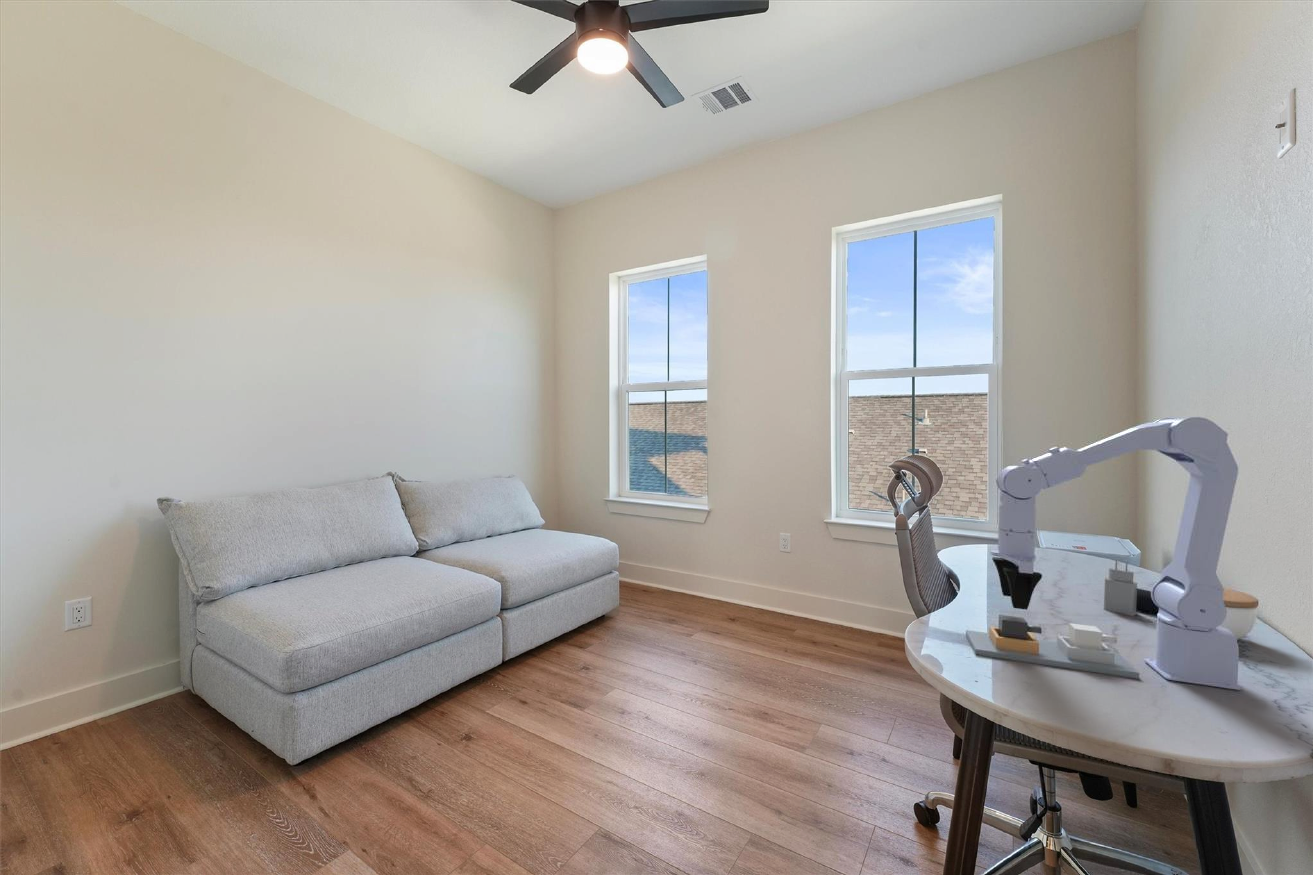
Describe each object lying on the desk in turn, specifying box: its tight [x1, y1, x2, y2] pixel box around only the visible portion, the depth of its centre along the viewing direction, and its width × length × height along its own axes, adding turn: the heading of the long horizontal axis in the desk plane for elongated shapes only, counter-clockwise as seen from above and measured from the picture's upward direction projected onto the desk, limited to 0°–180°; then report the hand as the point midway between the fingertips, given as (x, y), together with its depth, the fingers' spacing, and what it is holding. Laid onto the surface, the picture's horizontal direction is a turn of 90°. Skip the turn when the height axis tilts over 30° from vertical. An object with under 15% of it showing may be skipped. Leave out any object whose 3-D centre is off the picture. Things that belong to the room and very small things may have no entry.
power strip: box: [965, 622, 1140, 680], centre depth 99 cm, size 24×10×6 cm, turn 69°
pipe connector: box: [1136, 587, 1159, 615], centre depth 122 cm, size 12×5×15 cm
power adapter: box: [1103, 558, 1138, 617], centre depth 124 cm, size 3×5×12 cm, turn 35°
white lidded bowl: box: [1218, 587, 1259, 641], centre depth 109 cm, size 13×13×11 cm
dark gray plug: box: [997, 614, 1042, 640], centre depth 100 cm, size 6×3×5 cm, turn 68°
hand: (1014, 601), depth 101 cm, fingers open, 7 cm apart
